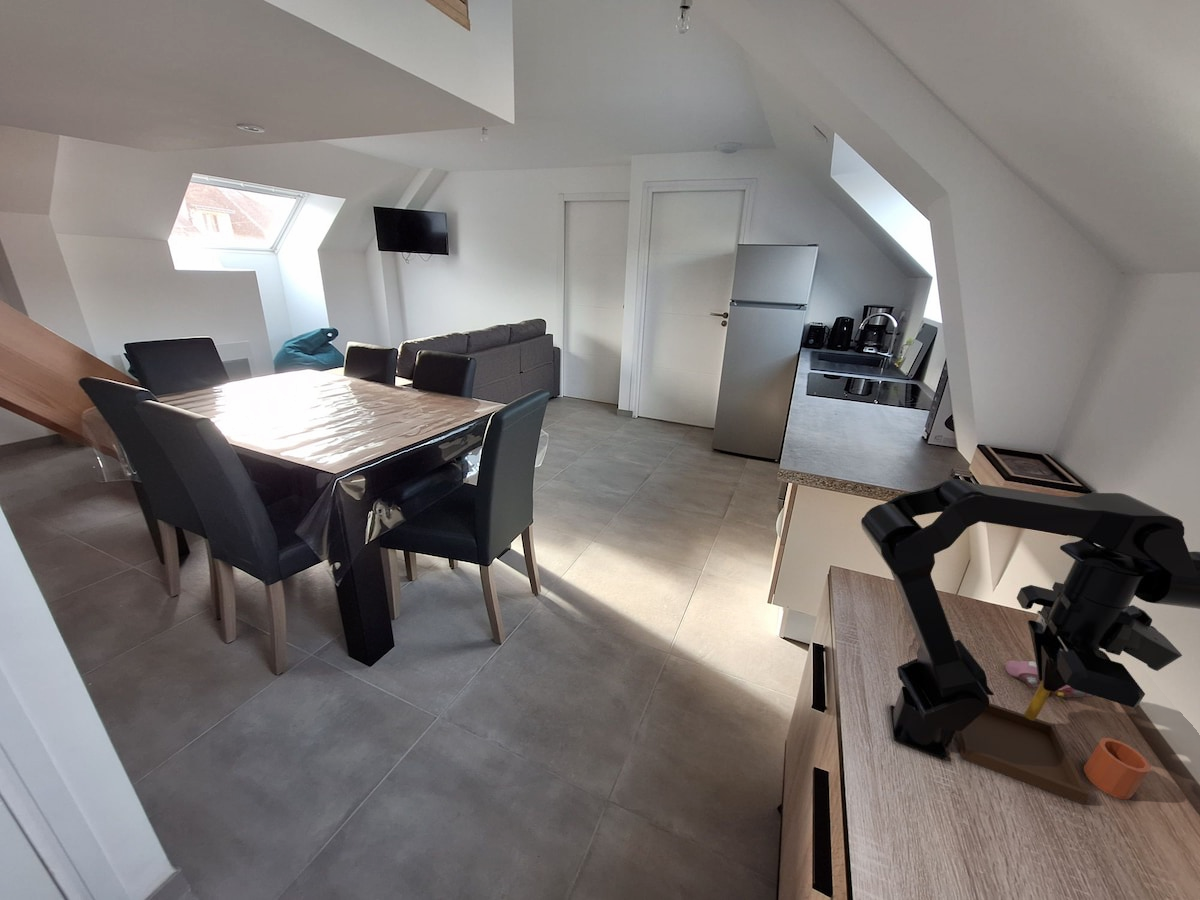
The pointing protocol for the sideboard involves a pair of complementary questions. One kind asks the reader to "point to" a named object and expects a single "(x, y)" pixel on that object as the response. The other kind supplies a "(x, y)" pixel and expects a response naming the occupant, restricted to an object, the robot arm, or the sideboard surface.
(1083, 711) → the sideboard surface
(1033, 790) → the sideboard surface
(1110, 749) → the pen pot
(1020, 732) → the tray
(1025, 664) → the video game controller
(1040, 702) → the pencil
